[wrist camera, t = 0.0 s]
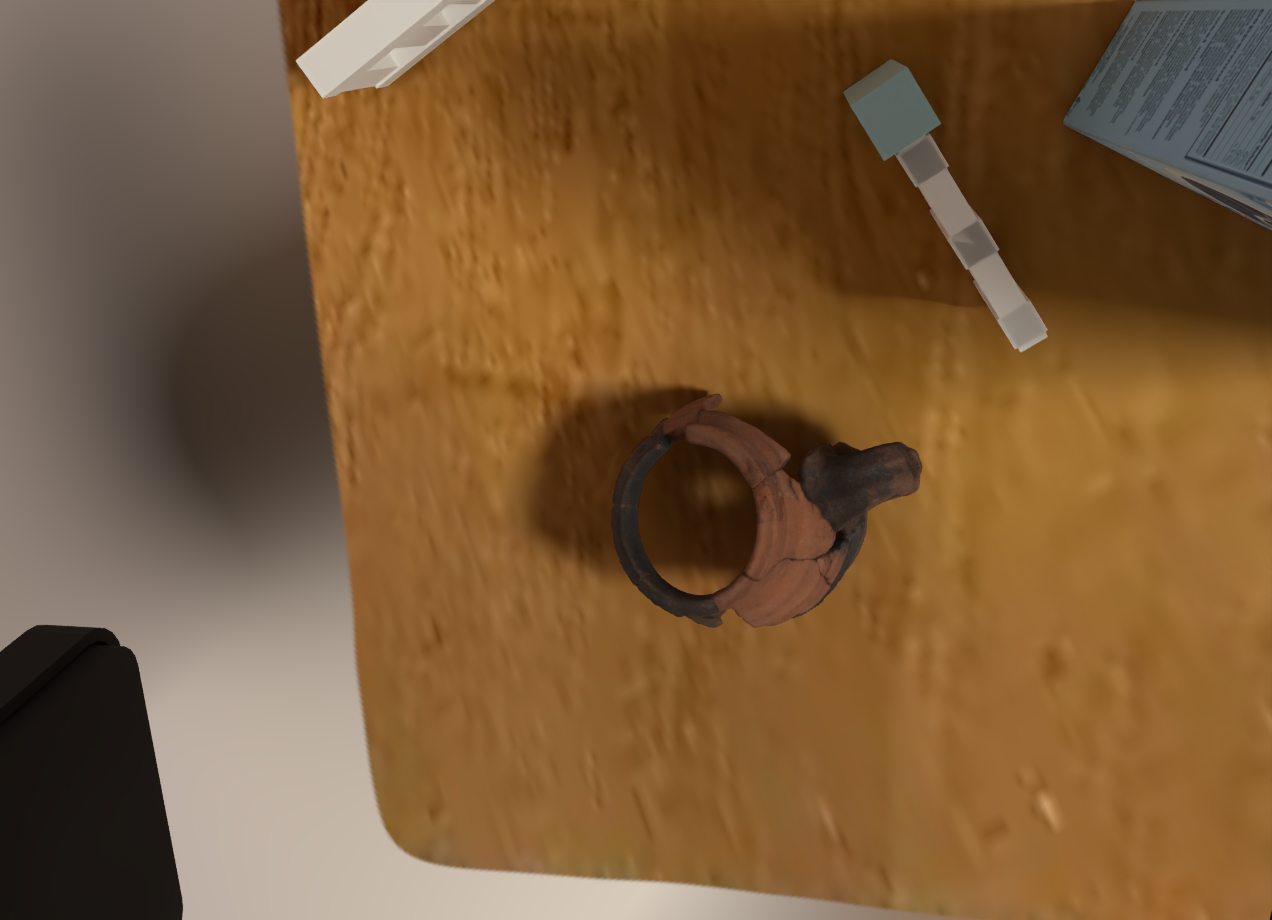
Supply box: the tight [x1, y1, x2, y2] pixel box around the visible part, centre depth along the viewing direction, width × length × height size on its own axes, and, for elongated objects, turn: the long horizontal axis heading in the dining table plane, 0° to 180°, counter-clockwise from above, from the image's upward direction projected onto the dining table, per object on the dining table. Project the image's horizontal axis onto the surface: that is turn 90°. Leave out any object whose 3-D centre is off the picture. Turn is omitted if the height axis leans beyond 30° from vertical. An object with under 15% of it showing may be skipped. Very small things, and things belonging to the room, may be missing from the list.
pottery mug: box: [611, 394, 922, 628], centre depth 46 cm, size 12×9×8 cm
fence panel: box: [895, 133, 1048, 352], centre depth 41 cm, size 8×1×6 cm, turn 35°
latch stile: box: [843, 59, 941, 161], centre depth 39 cm, size 2×2×7 cm
